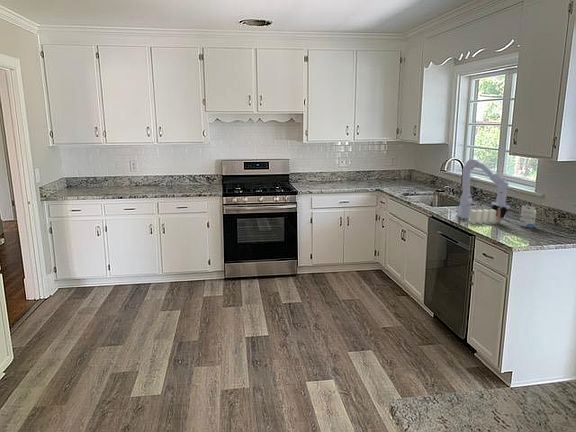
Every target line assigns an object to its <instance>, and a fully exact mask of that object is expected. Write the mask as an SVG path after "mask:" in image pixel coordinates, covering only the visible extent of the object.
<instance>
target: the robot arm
mask: <svg viewBox="0 0 576 432" xmlns="http://www.w3.org/2000/svg"><path fill="white" fill-rule="evenodd" d="M474 169H479V170H481V171H483V172H484V173H485V174H486V175H488V177H489V180H490V181H492V182H493V183H494V185H496V187H497V193H496V202H494V201H492V202H491V208H492V209H493V210H496V211H497V209H498V208H500V210H501V219H504V217H505V215H506V214H507V212H508V211H509V210H510V208H511V206H510V205H507V204H506V201H507V195H508V194H507V193H508V192H507V191H508V188H509V182H508V181H507V180H505V178H502V177H501V176H500V174H499V173H497V172H493V171H492V170H491V169H490V168H489V167H488V166H487V165H486V164H485V163H484V162H483V161H482V160H480V159H479V158H478V157H475V158H470V159H468V160H467V161H466V162H465V164H464V166H463V168H462V194H461V197H460V200H459V205H458V206H457V211H456V215H455V217H458V218H460V219H463V220H464V219H470V212H471V210H472V203H473V201H474V200H473V198H472V194H471V171H472V170H474ZM496 217H497V213H496Z"/></svg>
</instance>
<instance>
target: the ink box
mask: <svg viewBox="0 0 576 432" xmlns="http://www.w3.org/2000/svg"><path fill="white" fill-rule="evenodd" d="M536 216H537V210H536V207H535V206H530V205H521V209H520V216H519V223H518V225H519V227H524V228H526V227H527V228H531V229H532V228H534V227H535V222H536Z"/></svg>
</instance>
